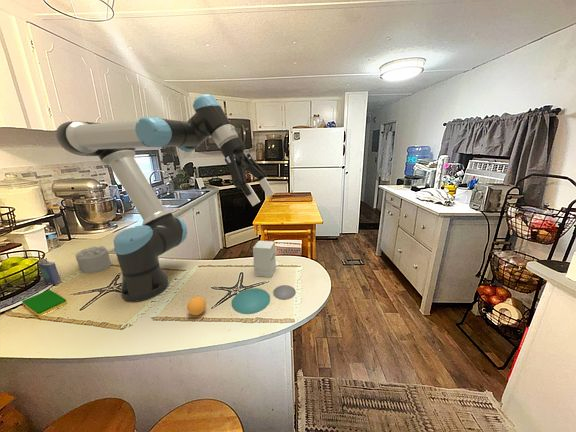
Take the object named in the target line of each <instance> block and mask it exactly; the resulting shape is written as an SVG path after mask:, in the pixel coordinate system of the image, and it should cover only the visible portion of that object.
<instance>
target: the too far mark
mask: <svg viewBox="0 0 576 432" xmlns="http://www.w3.org/2000/svg"><path fill="white" fill-rule="evenodd" d="M272 294H273V297H275V298H276V299H278V300H283V301H284V300H285V301H286V300H290V299H292V298H293V297H294V296H295V295H296V289H295V288H294V287H293V286H292V285H291V286H290V285H286V284H285V285H283V284H282V285H279V286H276V287H275V288H274V289H273V292H272Z"/></svg>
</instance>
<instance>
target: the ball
mask: <svg viewBox="0 0 576 432" xmlns="http://www.w3.org/2000/svg"><path fill="white" fill-rule="evenodd" d="M206 308H207V301H206V300H205V298H203V297H202V296H194V297H192V298H191V299H190V300H189V301H188V302H187V307H186V309H187V311H188V313H189V314H190V315H193V316H199V315H201V314H202V313H204V311H205V310H206Z"/></svg>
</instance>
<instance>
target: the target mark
mask: <svg viewBox="0 0 576 432" xmlns="http://www.w3.org/2000/svg"><path fill="white" fill-rule="evenodd" d="M270 302H271V296H270V294H269V292H267V291H266V290H264V289H262V288H257V287H252V288H246V289H243V290H242V291H241V290H240V291H239V292H238V293H236V294H235V295H234V296H233V297H232V300H231V307H232V309H233V310H234V311H235V312H237V313H240V314H243V315H244V314H245V315H251V314H255V313H259V312H261V311H262V310H264V309H266V307H268V305H270Z"/></svg>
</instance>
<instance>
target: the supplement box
mask: <svg viewBox="0 0 576 432" xmlns="http://www.w3.org/2000/svg"><path fill="white" fill-rule="evenodd" d="M275 245H276V243H275V241H273V240H258V241H257V242H256V243H255V245H254V246H253V247H252V257H253V268H254V269H253V270H254V276H256V277H264V278H265V277H267V278H272V277H273V274H274V272H275V270H276V268H277V266H276V265H277V263H276V262H277V261H276V246H275Z"/></svg>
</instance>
